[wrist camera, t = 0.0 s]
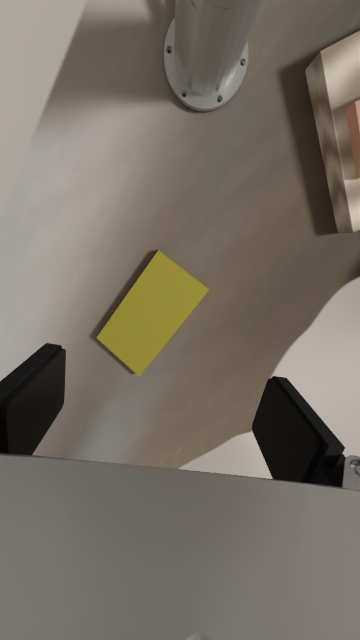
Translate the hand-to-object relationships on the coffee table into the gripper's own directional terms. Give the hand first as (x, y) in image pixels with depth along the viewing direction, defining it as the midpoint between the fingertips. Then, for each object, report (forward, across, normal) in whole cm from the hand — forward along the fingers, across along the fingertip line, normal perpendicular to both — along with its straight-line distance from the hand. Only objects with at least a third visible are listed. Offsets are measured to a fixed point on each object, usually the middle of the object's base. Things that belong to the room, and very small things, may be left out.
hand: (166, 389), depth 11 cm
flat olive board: (+38, +3, +9) cm, 39 cm away
